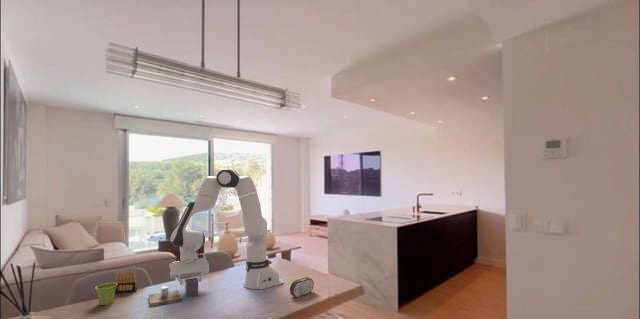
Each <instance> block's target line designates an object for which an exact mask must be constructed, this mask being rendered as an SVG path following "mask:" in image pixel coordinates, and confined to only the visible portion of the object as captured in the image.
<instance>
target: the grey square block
mask: <svg viewBox="0 0 640 319" xmlns="http://www.w3.org/2000/svg"><path fill="white" fill-rule="evenodd" d="M198 279H199V278H197V277H193V278H186V279H184V296H185V297H186V298H190V297H195V296H199V280H198Z"/></svg>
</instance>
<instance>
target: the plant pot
mask: <svg viewBox="0 0 640 319" xmlns="http://www.w3.org/2000/svg"><path fill="white" fill-rule="evenodd" d="M117 285H118V284H117V283H116V282H109V283H108V282H107V283H103V284H99V285H96V286H95V287H94V288H95V291H96V293H97V300H98V305H99V306H108V305H110V304H111V305H112V303H114V301H115V296H116V293H115V290H116V287H117Z"/></svg>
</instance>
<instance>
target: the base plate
mask: <svg viewBox="0 0 640 319" xmlns="http://www.w3.org/2000/svg"><path fill="white" fill-rule="evenodd" d="M148 299H149V308H151V307H157V306H161V305H167V304H168V305H169V304H173V303H178V302H182V296H181V294H180V292H179V289H176V290H170V291H169V290H168V297H164V298H162V297H161V292H158V293H157V292H156V293H151V294H148Z"/></svg>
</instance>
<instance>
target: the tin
mask: <svg viewBox="0 0 640 319" xmlns="http://www.w3.org/2000/svg"><path fill="white" fill-rule="evenodd" d="M314 286H315V285H314V280H313V279H312V278H310V277H309V276H305V277H302V278H299V279H296V280H294V281H293V282H292V283H291V284H290V287H289V294H290V295H291V296H292V297H294V298H300V297H302V296H305V295H309V294H311V292H312V291H313V290H314Z"/></svg>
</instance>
